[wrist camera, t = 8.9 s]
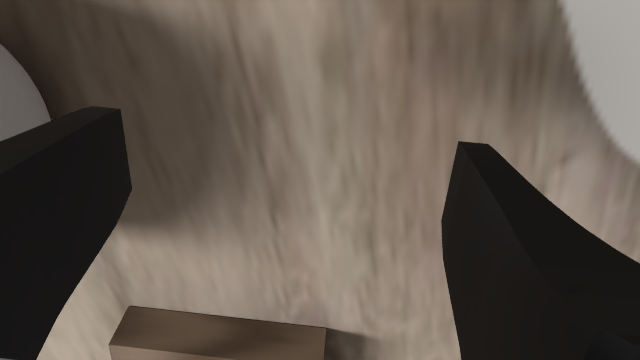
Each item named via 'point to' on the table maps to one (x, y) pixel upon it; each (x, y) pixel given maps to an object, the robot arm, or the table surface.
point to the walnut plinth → (211, 338)
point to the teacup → (18, 99)
